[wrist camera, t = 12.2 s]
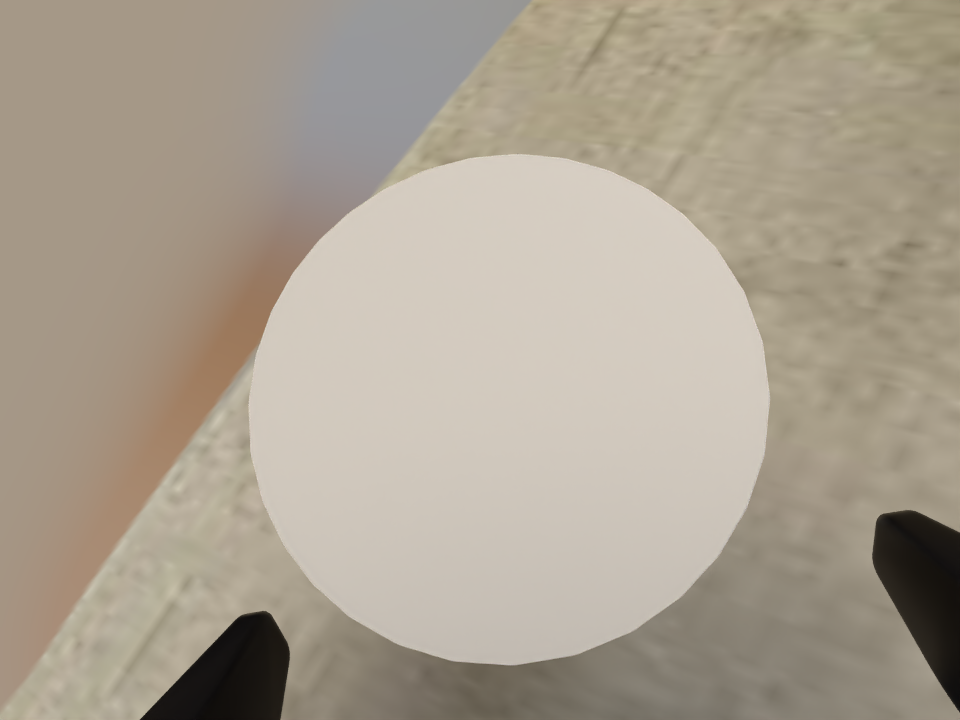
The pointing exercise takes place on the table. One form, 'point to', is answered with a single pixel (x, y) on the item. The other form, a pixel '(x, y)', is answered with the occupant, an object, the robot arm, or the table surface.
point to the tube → (508, 409)
